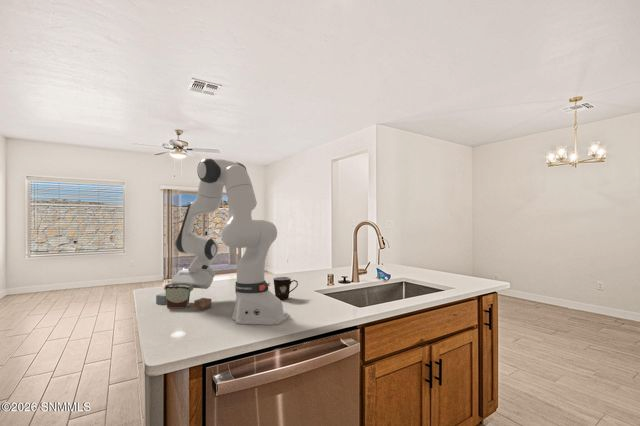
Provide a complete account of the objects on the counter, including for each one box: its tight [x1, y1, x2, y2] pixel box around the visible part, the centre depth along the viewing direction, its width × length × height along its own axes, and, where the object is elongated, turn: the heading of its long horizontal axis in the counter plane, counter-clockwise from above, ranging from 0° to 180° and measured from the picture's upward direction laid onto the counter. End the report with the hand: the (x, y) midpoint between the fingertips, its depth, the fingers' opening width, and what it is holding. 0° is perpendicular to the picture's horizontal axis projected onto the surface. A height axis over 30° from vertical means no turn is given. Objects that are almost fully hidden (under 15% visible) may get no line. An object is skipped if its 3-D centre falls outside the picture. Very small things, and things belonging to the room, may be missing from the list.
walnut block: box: [193, 297, 212, 311], centre depth 135 cm, size 5×5×4 cm
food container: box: [163, 283, 193, 309], centre depth 138 cm, size 12×6×10 cm, turn 85°
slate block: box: [155, 292, 167, 305], centre depth 145 cm, size 5×5×4 cm
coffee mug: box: [273, 276, 299, 301], centre depth 151 cm, size 12×9×10 cm
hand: (183, 294), depth 140 cm, fingers closed, pressing on food container
